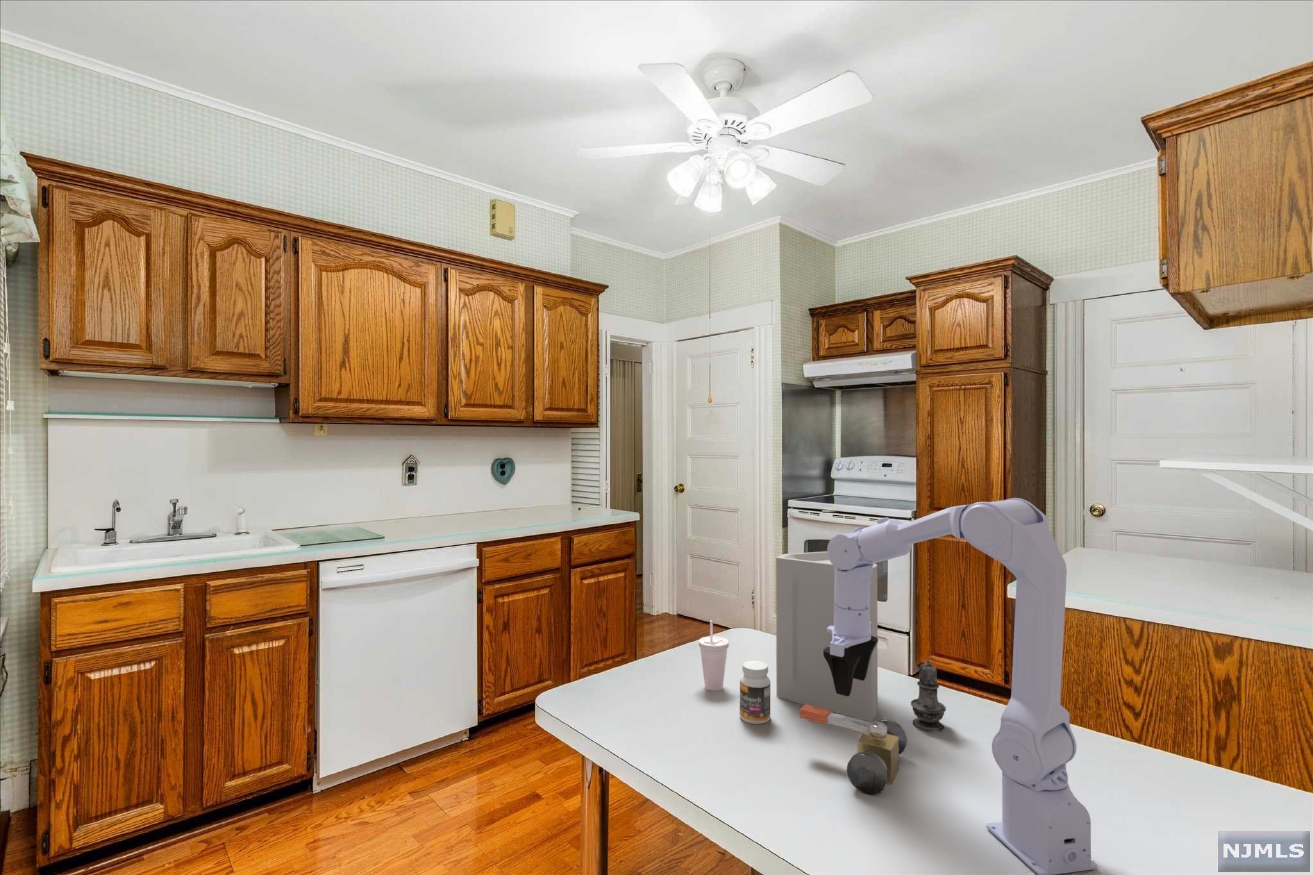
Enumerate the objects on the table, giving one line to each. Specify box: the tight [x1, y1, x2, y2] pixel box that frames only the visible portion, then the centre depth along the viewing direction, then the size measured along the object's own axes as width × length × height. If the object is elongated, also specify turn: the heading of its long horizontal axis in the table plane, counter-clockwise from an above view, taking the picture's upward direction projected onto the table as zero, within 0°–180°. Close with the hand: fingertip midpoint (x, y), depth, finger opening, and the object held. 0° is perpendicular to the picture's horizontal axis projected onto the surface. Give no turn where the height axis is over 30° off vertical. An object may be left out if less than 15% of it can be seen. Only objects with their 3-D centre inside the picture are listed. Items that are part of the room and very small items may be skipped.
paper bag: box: [775, 550, 879, 722], centre depth 124 cm, size 19×15×28 cm
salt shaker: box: [910, 658, 947, 733], centre depth 111 cm, size 6×6×12 cm
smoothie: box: [698, 619, 730, 692], centre depth 129 cm, size 6×6×14 cm
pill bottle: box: [739, 660, 771, 725], centre depth 114 cm, size 6×6×10 cm
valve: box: [846, 718, 908, 796], centre depth 96 cm, size 14×6×6 cm, turn 146°
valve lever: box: [799, 704, 887, 739], centre depth 99 cm, size 14×3×1 cm, turn 56°
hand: (850, 686), depth 102 cm, fingers open, 7 cm apart
